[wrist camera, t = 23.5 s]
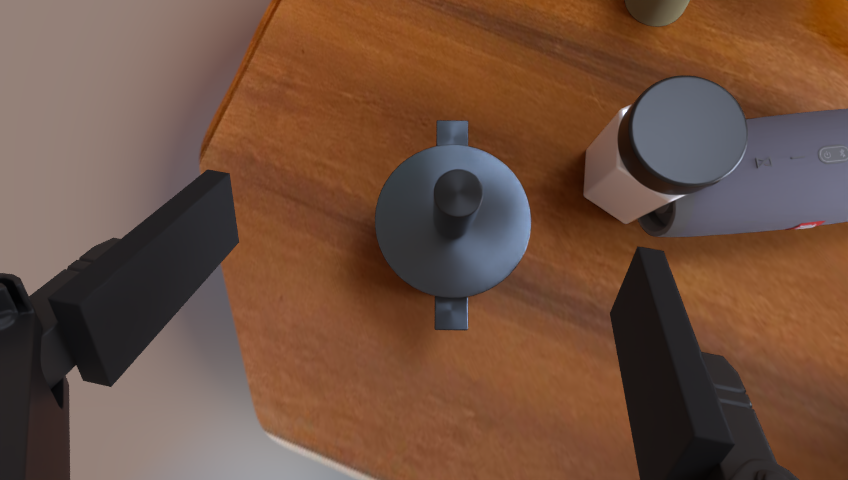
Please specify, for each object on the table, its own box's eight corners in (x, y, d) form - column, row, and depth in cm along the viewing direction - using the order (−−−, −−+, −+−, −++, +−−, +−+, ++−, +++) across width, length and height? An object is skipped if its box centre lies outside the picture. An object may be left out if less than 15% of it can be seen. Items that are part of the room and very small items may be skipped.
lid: (374, 297, 36) (355, 292, 27) (378, 148, 38) (361, 97, 29) (529, 299, 36) (561, 294, 27) (526, 149, 38) (556, 98, 29)
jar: (670, 228, 45) (750, 198, 34) (579, 220, 46) (626, 187, 34) (674, 134, 47) (751, 73, 35) (585, 126, 47) (632, 64, 35)
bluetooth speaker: (634, 252, 45) (690, 235, 36) (617, 153, 47) (666, 110, 37) (884, 224, 45) (1010, 200, 36) (860, 126, 47) (974, 76, 37)
